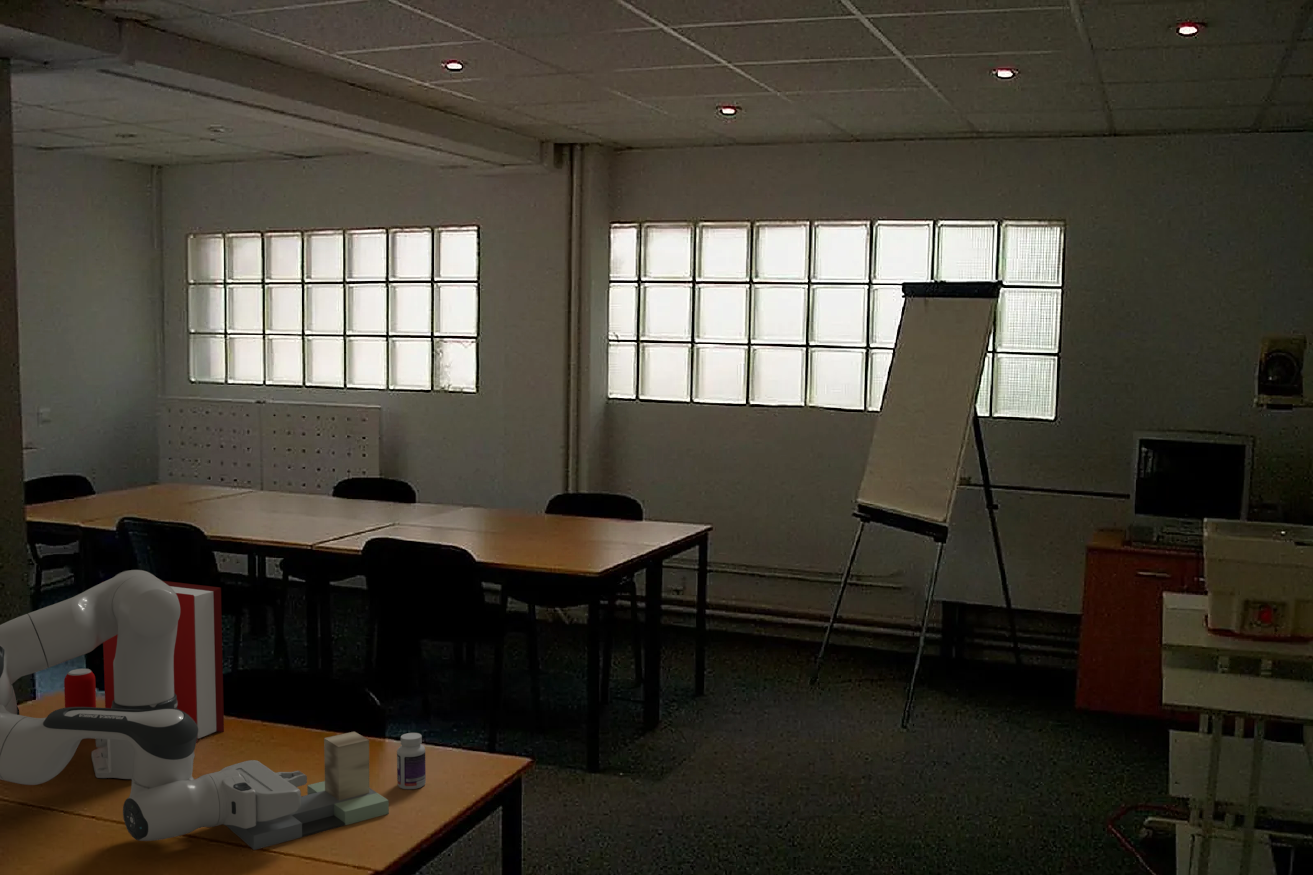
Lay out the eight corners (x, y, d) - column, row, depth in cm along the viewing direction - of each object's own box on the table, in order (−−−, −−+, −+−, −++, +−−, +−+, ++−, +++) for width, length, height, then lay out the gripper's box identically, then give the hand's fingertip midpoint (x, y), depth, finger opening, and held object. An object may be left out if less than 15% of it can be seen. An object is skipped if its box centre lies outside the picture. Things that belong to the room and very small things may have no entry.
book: (223, 732, 262) (220, 587, 260) (196, 743, 255) (193, 594, 252) (129, 715, 273) (125, 576, 270) (101, 726, 265) (96, 583, 263)
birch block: (324, 790, 223) (324, 738, 222) (354, 783, 227) (354, 731, 226) (339, 800, 218) (338, 746, 217) (369, 792, 222) (368, 740, 221)
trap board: (219, 820, 215) (219, 806, 215) (349, 787, 231) (349, 775, 231) (254, 850, 203) (253, 835, 203) (388, 813, 219) (388, 800, 219)
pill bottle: (431, 782, 234) (431, 734, 233) (414, 792, 229) (414, 742, 228) (408, 778, 236) (408, 729, 236) (391, 787, 232) (391, 738, 231)
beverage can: (101, 724, 266) (99, 671, 265) (72, 730, 262) (70, 677, 261) (90, 718, 271) (88, 665, 270) (61, 724, 266) (59, 671, 265)
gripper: (205, 796, 215) (280, 777, 224) (250, 832, 200) (328, 811, 208) (204, 761, 214) (279, 744, 223) (249, 795, 199) (328, 775, 208)
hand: (303, 777), depth 216 cm, fingers closed
